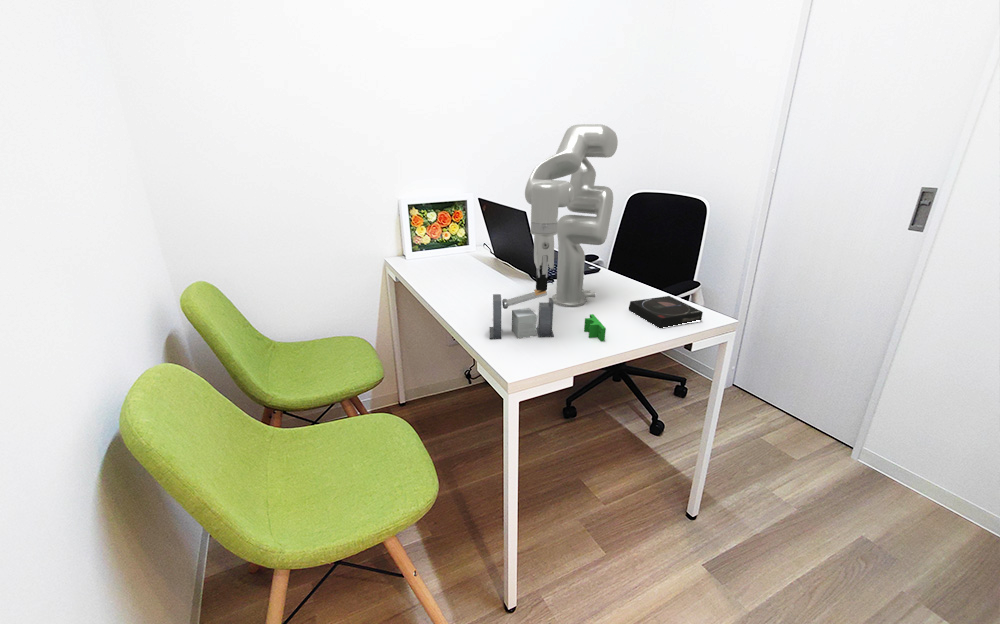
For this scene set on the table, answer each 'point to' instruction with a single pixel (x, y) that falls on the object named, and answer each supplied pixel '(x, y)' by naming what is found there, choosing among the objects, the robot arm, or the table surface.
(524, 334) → the product box
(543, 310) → the lug block
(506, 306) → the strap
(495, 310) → the hinge post
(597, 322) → the pipe clamp
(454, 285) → the table surface
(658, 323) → the portable cd player
